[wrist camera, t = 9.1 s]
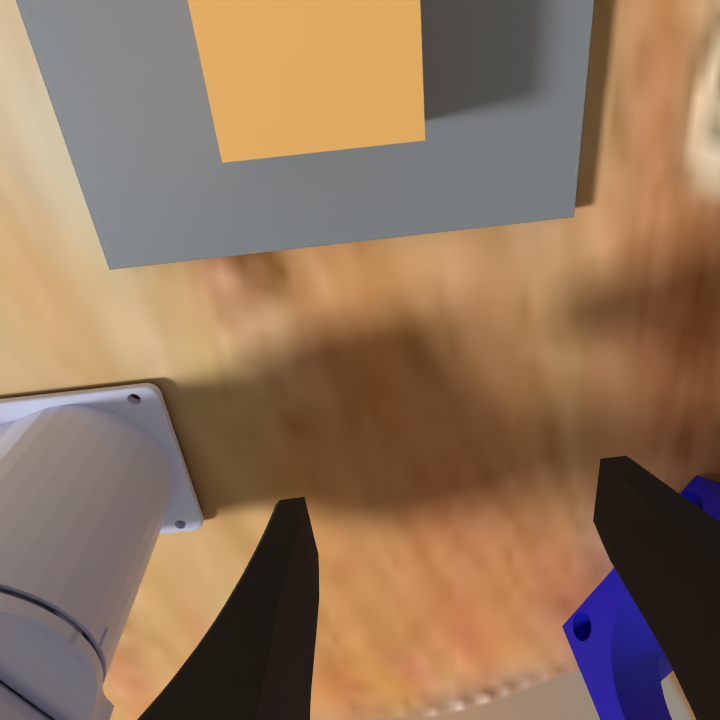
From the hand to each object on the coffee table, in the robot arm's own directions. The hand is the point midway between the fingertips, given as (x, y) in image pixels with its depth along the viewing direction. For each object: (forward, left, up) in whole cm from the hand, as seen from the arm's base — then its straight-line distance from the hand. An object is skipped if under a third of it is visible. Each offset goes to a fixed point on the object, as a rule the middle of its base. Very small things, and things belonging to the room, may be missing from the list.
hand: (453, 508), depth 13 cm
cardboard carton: (-2, +10, -8) cm, 14 cm away
